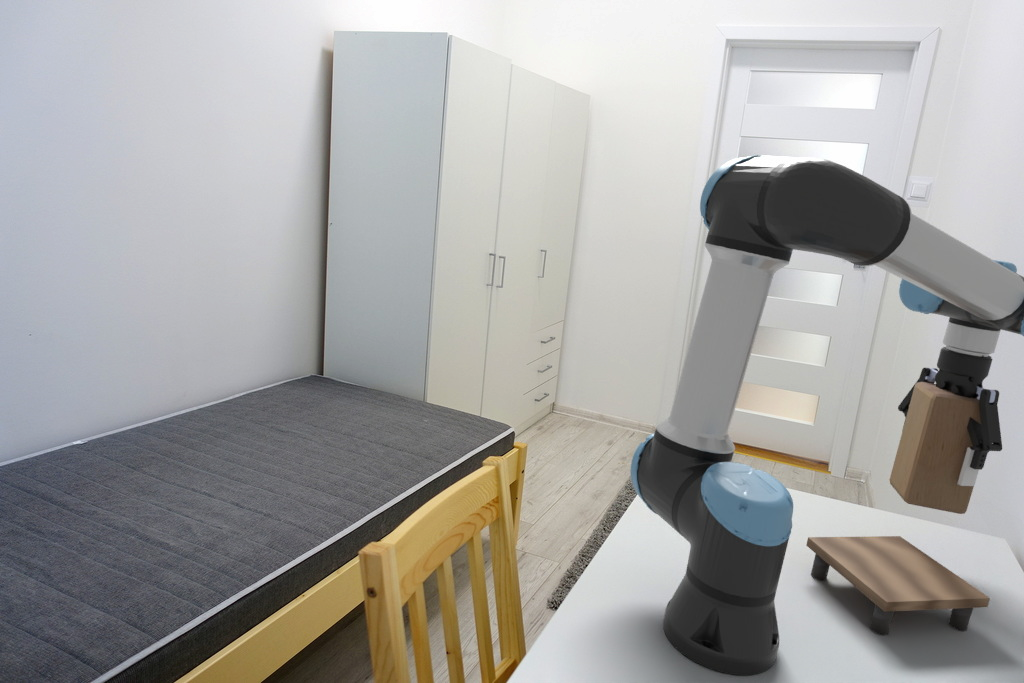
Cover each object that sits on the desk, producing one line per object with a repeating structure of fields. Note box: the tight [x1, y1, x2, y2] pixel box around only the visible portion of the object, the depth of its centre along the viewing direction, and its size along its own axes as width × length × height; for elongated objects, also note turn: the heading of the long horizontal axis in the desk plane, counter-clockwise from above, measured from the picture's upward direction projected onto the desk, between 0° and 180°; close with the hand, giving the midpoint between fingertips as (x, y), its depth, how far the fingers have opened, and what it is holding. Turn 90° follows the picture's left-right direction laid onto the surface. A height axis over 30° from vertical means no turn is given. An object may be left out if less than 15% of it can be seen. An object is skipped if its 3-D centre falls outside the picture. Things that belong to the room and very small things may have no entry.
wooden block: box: [889, 382, 981, 515], centre depth 123 cm, size 10×10×20 cm
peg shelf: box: [806, 535, 991, 636], centre depth 111 cm, size 18×18×6 cm
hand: (934, 468), depth 124 cm, fingers open, 12 cm apart
